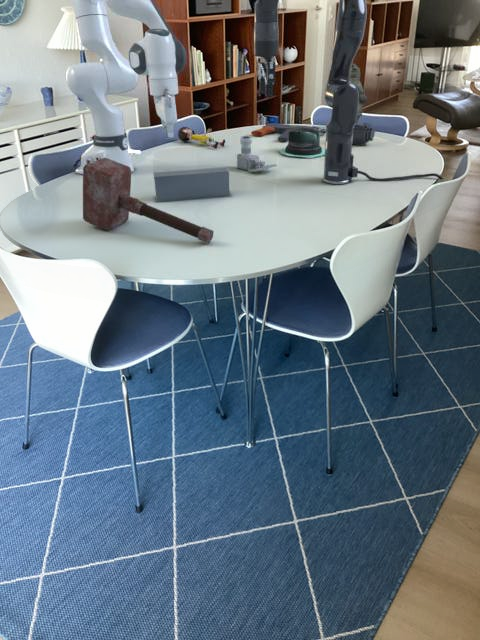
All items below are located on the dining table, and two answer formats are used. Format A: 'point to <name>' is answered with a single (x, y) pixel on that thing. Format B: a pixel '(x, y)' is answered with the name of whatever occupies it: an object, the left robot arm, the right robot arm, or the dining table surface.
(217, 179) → the bar
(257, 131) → the submachine gun
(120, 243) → the dining table surface
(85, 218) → the sledgehammer
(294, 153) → the green hat
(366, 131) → the toy
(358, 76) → the statue
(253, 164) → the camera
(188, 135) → the figurine
